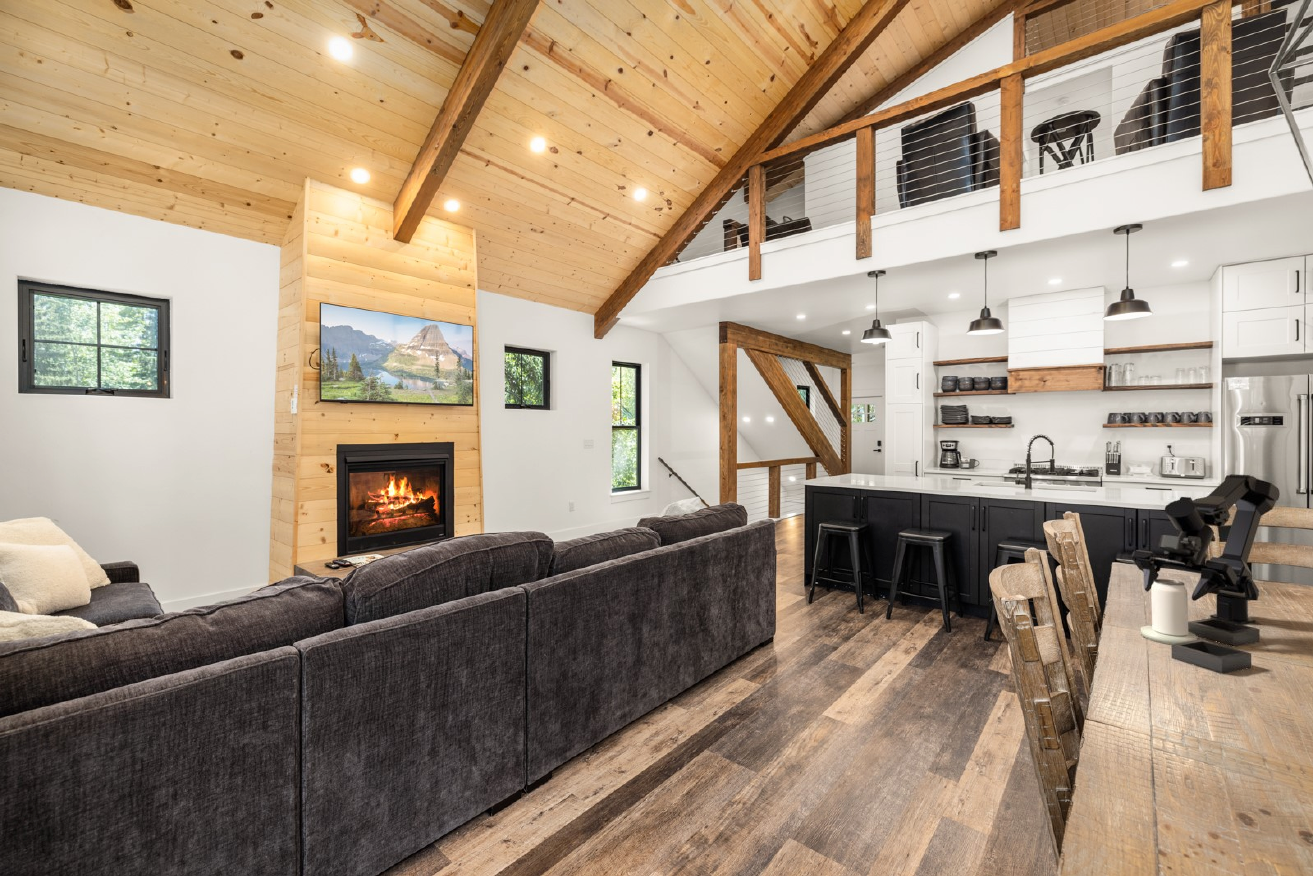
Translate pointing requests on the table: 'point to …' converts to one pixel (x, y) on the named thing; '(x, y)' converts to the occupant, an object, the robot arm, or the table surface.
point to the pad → (1165, 636)
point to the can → (1169, 607)
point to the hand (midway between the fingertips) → (1168, 594)
